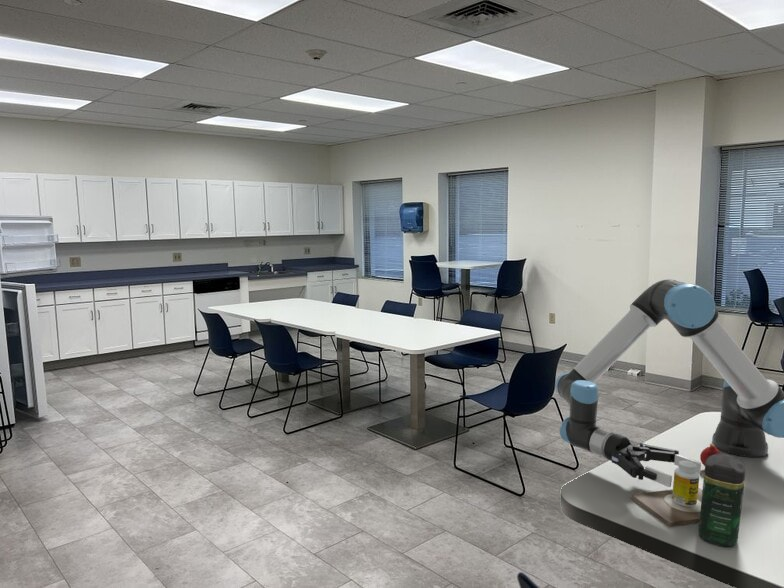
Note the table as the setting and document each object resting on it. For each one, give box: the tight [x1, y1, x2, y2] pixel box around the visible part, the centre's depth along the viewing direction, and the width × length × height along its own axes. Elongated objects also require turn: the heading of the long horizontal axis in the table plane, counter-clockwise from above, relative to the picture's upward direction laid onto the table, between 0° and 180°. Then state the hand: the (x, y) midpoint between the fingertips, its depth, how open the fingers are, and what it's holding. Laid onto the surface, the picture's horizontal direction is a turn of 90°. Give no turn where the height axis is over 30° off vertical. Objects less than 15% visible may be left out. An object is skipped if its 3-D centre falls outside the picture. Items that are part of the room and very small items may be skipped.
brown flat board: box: [630, 487, 703, 527], centre depth 143 cm, size 20×14×1 cm
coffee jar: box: [698, 453, 746, 547], centre depth 128 cm, size 10×8×19 cm
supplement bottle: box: [672, 461, 700, 507], centre depth 142 cm, size 6×6×10 cm
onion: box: [699, 443, 723, 467], centre depth 163 cm, size 6×6×8 cm
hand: (686, 474), depth 141 cm, fingers open, 13 cm apart
